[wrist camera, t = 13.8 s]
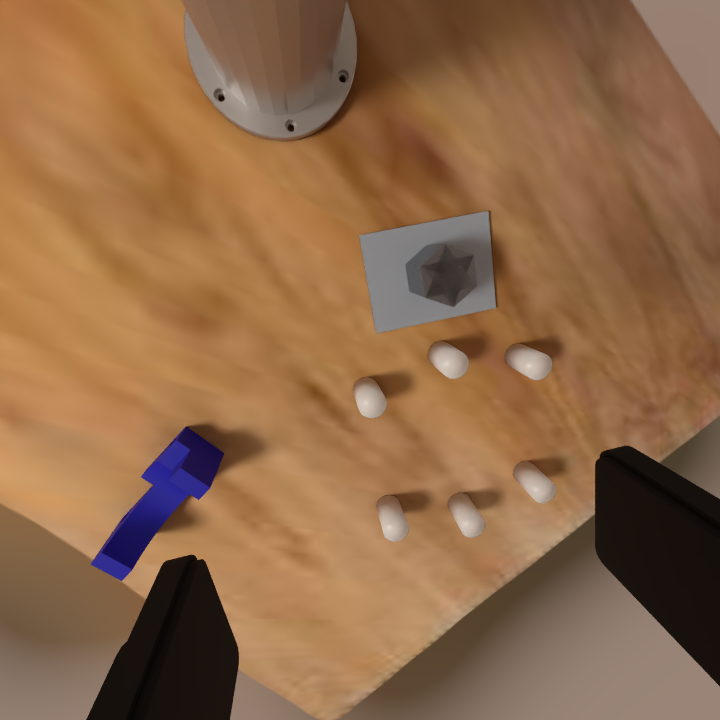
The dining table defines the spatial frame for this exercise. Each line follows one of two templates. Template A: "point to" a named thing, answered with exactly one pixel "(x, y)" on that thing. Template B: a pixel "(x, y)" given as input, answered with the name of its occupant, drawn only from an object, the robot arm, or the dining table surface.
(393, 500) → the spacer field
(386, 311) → the mat
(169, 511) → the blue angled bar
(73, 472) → the dining table surface
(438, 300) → the grey faceted polyhedron
